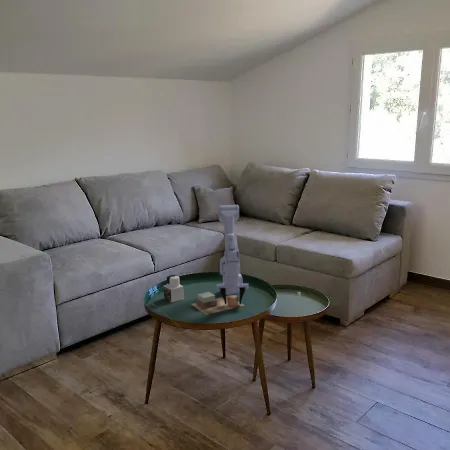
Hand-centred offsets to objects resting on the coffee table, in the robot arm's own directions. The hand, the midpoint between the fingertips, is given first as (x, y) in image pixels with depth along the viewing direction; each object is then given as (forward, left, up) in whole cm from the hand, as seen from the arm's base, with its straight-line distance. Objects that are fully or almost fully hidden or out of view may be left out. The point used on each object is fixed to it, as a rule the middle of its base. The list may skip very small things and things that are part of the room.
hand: (232, 303), depth 224 cm
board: (+5, -5, -1) cm, 7 cm away
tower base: (+10, -7, -1) cm, 12 cm away
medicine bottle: (+19, -23, -2) cm, 30 cm away
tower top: (+10, -7, +2) cm, 12 cm away
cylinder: (0, 0, -1) cm, 1 cm away
